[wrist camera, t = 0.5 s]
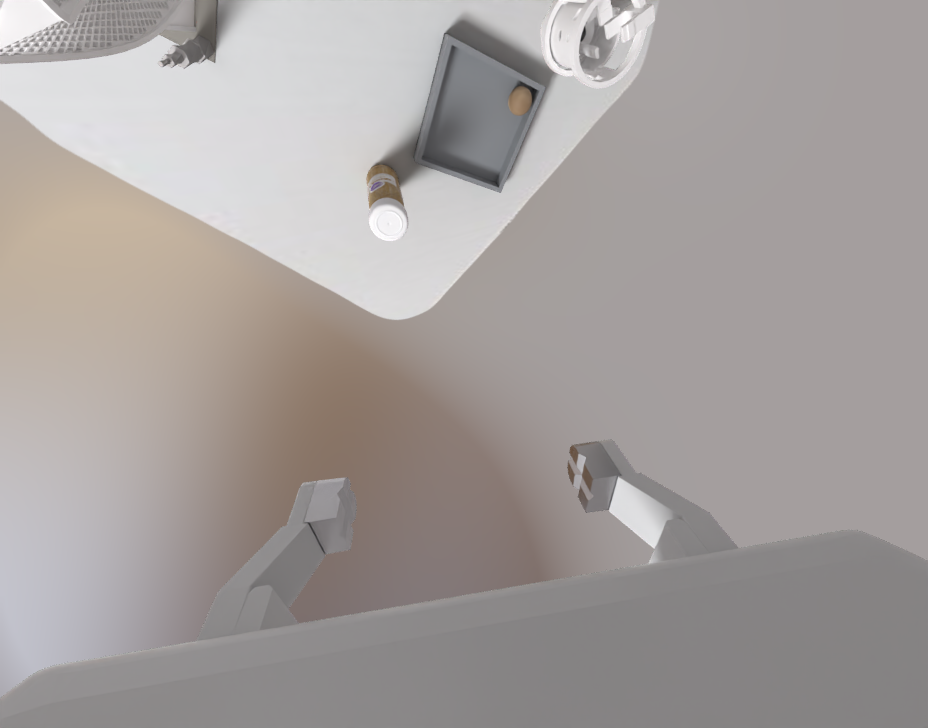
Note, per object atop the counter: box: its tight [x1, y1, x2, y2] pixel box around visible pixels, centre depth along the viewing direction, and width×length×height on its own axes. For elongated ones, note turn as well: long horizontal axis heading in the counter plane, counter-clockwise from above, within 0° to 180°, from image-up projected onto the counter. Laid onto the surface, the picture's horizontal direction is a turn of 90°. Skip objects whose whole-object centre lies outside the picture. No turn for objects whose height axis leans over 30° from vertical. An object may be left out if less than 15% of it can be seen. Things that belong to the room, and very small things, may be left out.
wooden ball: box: [508, 86, 532, 116], centre depth 43 cm, size 3×3×3 cm
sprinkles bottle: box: [367, 165, 408, 241], centre depth 44 cm, size 5×5×14 cm
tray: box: [414, 33, 546, 193], centre depth 45 cm, size 13×13×2 cm
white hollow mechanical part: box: [540, 0, 655, 88], centre depth 35 cm, size 7×7×15 cm
